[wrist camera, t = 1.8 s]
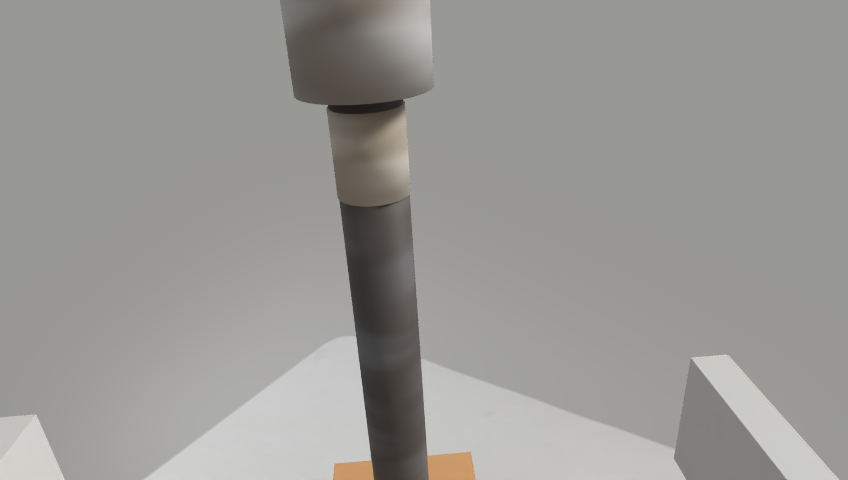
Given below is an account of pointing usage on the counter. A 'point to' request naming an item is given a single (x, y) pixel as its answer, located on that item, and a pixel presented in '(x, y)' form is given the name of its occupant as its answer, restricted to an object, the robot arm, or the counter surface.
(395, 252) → the stand
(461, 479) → the sleeve
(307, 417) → the counter surface
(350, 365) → the counter surface
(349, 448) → the counter surface
